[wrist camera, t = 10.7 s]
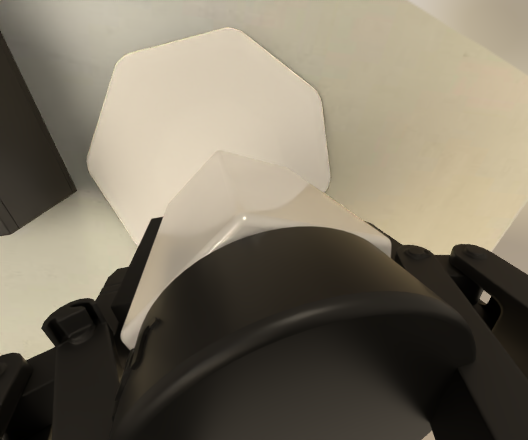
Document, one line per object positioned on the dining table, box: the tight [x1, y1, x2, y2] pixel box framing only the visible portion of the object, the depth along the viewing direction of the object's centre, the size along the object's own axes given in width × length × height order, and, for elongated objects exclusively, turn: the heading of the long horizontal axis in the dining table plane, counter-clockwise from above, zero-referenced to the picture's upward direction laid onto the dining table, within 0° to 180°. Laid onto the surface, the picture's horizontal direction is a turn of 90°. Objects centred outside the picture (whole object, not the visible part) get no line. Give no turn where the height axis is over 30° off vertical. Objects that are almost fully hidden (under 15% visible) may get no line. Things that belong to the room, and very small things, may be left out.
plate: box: [86, 27, 331, 246], centre depth 25 cm, size 24×24×2 cm
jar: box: [108, 150, 476, 440], centre depth 10 cm, size 9×8×12 cm
